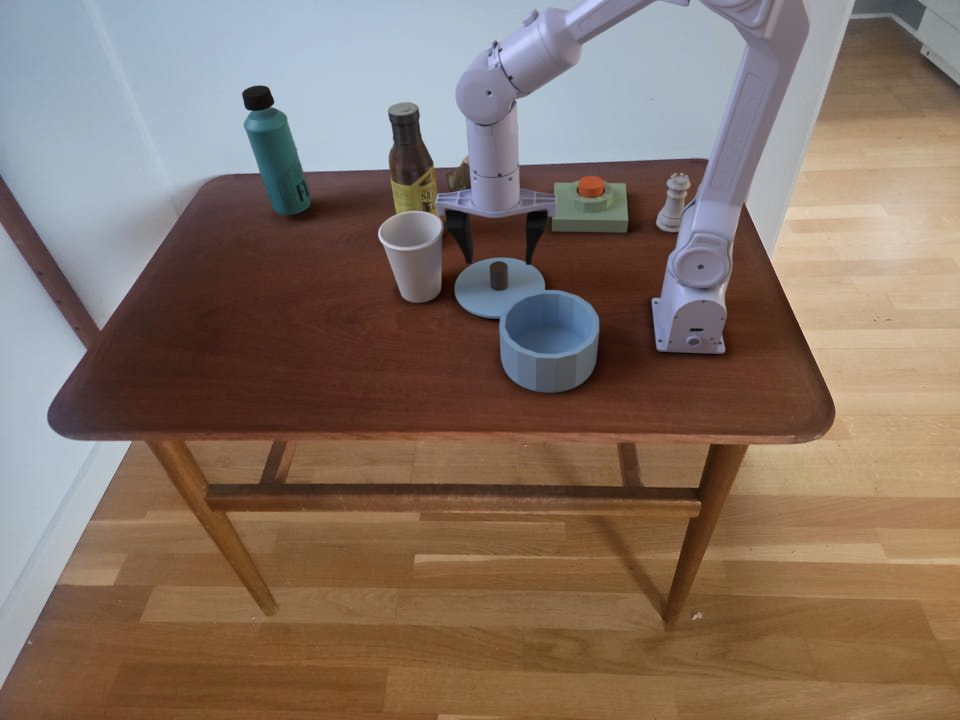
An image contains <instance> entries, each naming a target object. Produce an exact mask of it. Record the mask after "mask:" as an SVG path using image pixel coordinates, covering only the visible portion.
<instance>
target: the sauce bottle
mask: <svg viewBox="0 0 960 720" xmlns="http://www.w3.org/2000/svg"><path fill="white" fill-rule="evenodd" d="M387 116H388V120H389V123H390V125H391V131H392V141H393V144H392V147H391V149H390V151H389V154H388V167H389V173H390V174H389V177H390V184H391V189H392V191H391V192H392V195H393V202H394V209H395V215H396V214H399V213H403V212H408V211H423V212H428V213H431V214H433V215H435V216H437V212H436V204H435V202H436V198H437V194H438V190H437V189H438V188H437V181H436V172H435V163H434V160H433V158H432V156H431V154H430V152H429V150H428V148H427V146H426V143H425V141H424V140H423V135H422V133H421V123H420V119H421V114H420V107H419V106H418V104H416V103H413V102H408V101H405V102H398V103H396V104H392V105H391V106H390V107H389V108H388V110H387ZM437 217H438V218H439V219H440V220H441V216H437Z"/></svg>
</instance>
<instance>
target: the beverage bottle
mask: <svg viewBox="0 0 960 720" xmlns="http://www.w3.org/2000/svg"><path fill="white" fill-rule="evenodd" d="M241 97H242V99H243V105H244V108H245V110H247V111H250V112H249V114H248V115H247V117H246V118H245V120H244V122H243V128H244V130H245V133H246V136H247V139H248V141H249V144H250V148H251V149H252V153H253V155H254V158H255V161H256V162H255V163H256V165H257V169H258V173H259V175H260V177H261V181H262V185H263V186H264V189H265V192H266V196H267V198H268V201H269V205H270V206H271V208H272V209H273V210H274V211H275V213H277V214H279V215H283V216H292V215H293V216H294V215H297V214H300V213H302V212H304V211H306V210H307V209H308V208H309V207H310V205H311V204H312V195H311V191H310V187H309V184H308V180H307V179H306V178H307V177H306V175H305V174H304V172H305V171H304V167H303V164H302V162H301V159H300V157H299V153H298V148H297V145H296V143H295V139H294V136H293V135H292V131H291V127H290V123H289V121H288V120H289V119H288V116H287V115H286V113H285V112H283V111H282V110H279V109H278V108H275V107H273V106H274V104H275V99H274V96H273V94H272V91H271V89H270V88H269V86H266V85H262V84H261V85H260V84H259V85H252V86H250V87H247V88H246V89H244V90H243V91H242V93H241Z"/></svg>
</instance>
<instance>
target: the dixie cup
mask: <svg viewBox="0 0 960 720" xmlns="http://www.w3.org/2000/svg"><path fill="white" fill-rule="evenodd" d="M444 232H445V224H444V223H443V220H442V219H441V218H440V219H439V218H438V217H437V216H435V215H433V214H431V213H428V212H423V211H408V212H403V213H399V214H396V213H395V215H392V216H391V217H389V218H388V219H386V220H385V221H384V222H383V223H382V224H381V225H380V227H379V229H378V233H377V234H378V235H377V236H378V239H379V241H380V243H381V244H382V245H383V249H384V251H385V254H386V256H387V259H388V262H389V265H390V268H391V270H392V273H393V276H394V279H395V282H396V284H397V287H398V289H399V293H400V295H401V297H402V298H403V299H404V300H406V301H408V302H410V303H415V304H421V303H426V302H429V301H432V300H434V299H435V298H436V297H437V296H439V294H440V293H441V291H442V290H441V289H442V262H443V261H442V260H443V234H444Z"/></svg>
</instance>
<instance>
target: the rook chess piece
mask: <svg viewBox="0 0 960 720" xmlns="http://www.w3.org/2000/svg"><path fill="white" fill-rule="evenodd" d="M666 185H667V187H668V190H666V195H667V196H666V199H665V200H666V201H665V202H664V203H665V204H664V206H663V207H662V208H661V210H660V211H659V212H658V214H657V218H656V220H655V223H656V226H657V227H658V229H659V230H660V231H663V232H664V233H668V234H677V233H679V228H680V216H681V213H682V211H683V209H684V208H685V201H686V197H687V195H688V192H687V190H689V188H690V187H691V186H692V184H691V181H690V178H689V175H688V174H686V175H685V173H683V172H680V173H679V175H678V172H675V173H673V174H672V175H670V178H669V179H667V180H666Z"/></svg>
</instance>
